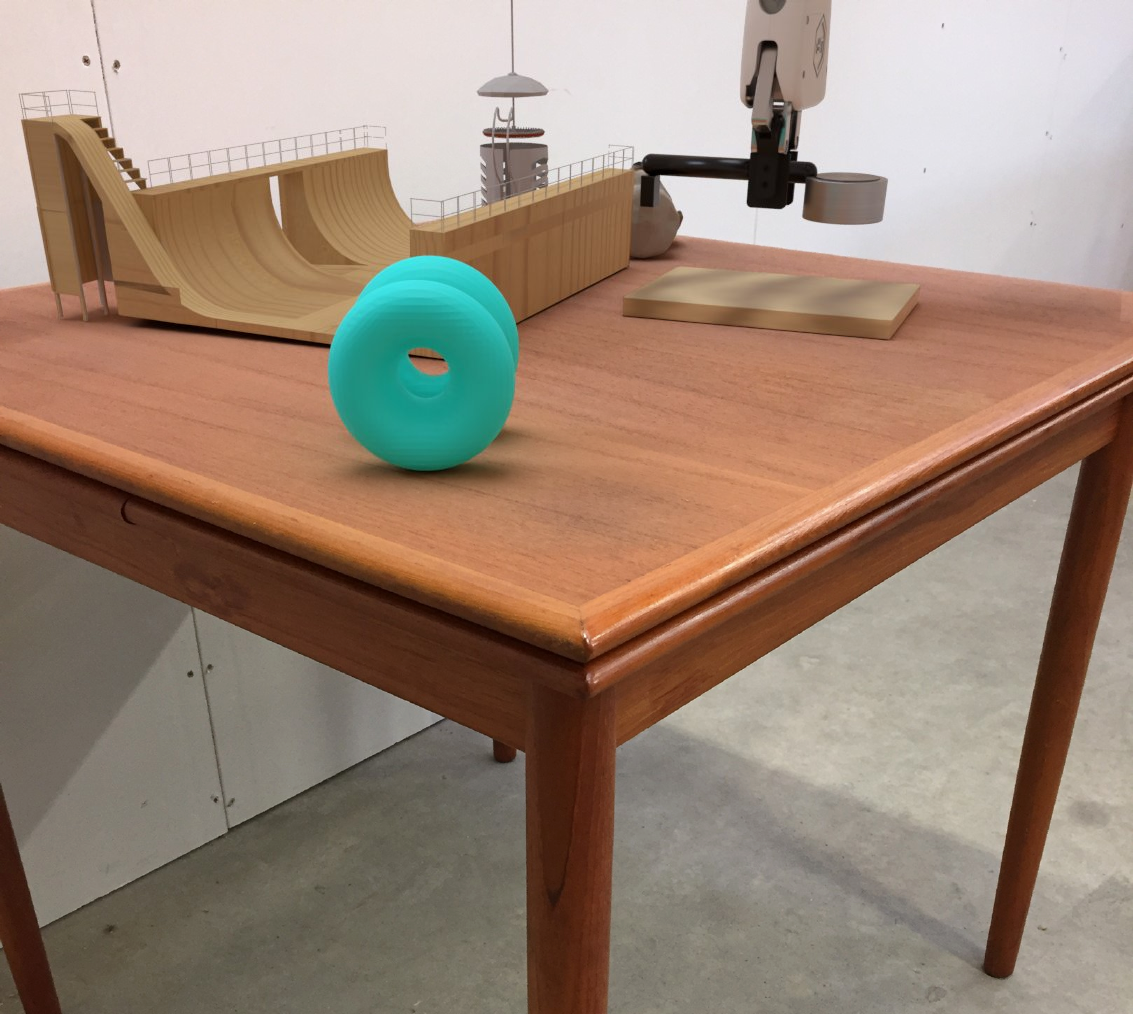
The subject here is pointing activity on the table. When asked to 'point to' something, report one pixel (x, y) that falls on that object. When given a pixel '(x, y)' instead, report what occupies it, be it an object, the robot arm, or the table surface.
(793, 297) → the cutting board
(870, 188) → the saucepan
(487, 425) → the donuts
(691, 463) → the table surface
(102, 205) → the skate ramp
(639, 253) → the ceramic sculpture
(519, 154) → the bird feeder
